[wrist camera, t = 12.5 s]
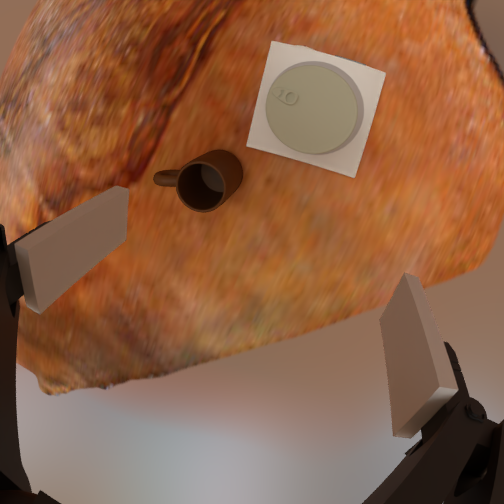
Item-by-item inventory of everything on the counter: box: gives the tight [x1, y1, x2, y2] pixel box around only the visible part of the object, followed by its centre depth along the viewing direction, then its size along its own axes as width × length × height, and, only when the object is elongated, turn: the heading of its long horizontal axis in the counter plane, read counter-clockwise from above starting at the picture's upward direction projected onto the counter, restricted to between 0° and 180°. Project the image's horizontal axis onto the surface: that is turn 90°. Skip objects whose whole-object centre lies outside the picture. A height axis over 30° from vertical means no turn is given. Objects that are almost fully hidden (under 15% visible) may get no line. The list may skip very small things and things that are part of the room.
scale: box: [246, 41, 386, 178], centre depth 41 cm, size 16×16×5 cm
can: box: [265, 65, 358, 154], centre depth 34 cm, size 9×9×12 cm
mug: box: [153, 150, 242, 212], centre depth 47 cm, size 12×8×9 cm, turn 84°
